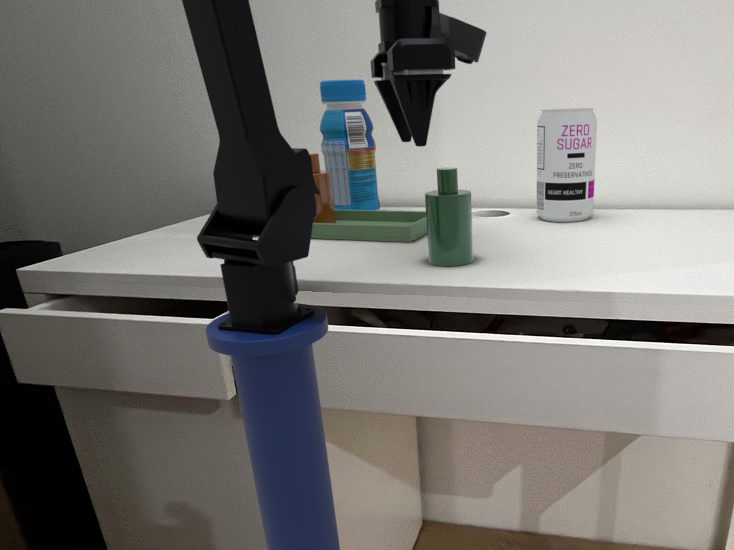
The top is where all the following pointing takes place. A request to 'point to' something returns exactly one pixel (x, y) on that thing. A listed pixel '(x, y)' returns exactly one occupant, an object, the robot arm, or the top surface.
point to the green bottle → (449, 221)
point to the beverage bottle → (349, 145)
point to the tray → (373, 226)
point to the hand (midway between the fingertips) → (413, 144)
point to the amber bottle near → (323, 193)
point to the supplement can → (566, 164)
